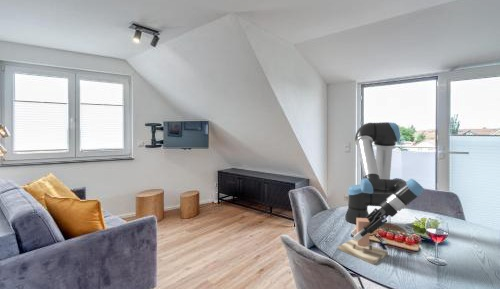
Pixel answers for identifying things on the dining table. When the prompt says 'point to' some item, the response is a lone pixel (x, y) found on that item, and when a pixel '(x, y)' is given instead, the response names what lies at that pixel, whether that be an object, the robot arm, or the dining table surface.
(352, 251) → the base plate
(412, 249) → the dining table surface
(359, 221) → the block
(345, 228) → the dining table surface
